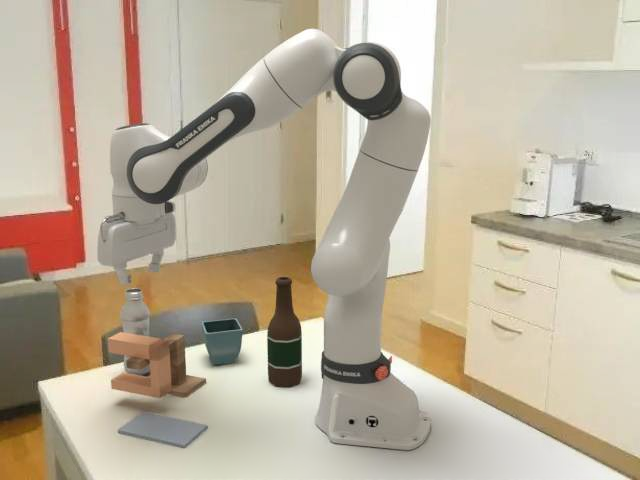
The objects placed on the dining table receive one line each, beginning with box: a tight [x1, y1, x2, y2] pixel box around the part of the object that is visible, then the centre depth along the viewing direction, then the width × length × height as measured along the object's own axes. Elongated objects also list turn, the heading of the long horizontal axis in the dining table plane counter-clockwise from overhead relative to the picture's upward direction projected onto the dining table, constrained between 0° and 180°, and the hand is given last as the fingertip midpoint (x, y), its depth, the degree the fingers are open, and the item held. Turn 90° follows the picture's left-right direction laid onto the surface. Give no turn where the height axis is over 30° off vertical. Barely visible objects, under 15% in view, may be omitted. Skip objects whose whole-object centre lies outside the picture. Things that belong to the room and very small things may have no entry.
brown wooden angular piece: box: [126, 333, 207, 398], centre depth 138 cm, size 10×18×12 cm, turn 158°
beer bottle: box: [266, 276, 303, 388], centre depth 144 cm, size 8×8×24 cm
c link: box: [107, 331, 172, 399], centre depth 133 cm, size 12×4×11 cm, turn 68°
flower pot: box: [201, 318, 244, 365], centre depth 158 cm, size 9×9×9 cm
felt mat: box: [117, 410, 209, 449], centre depth 125 cm, size 15×8×1 cm, turn 68°
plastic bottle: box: [119, 287, 151, 376], centre depth 149 cm, size 6×7×20 cm
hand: (140, 277), depth 129 cm, fingers open, 8 cm apart
